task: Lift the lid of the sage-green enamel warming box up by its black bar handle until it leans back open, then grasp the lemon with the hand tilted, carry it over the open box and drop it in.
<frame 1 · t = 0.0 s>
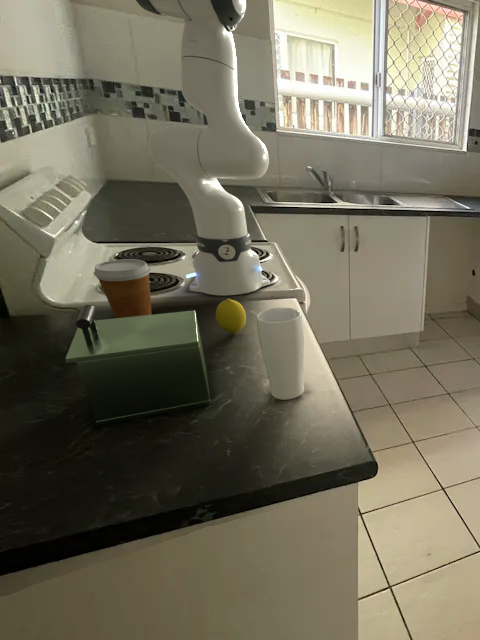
lid: (135, 321, 74), point 13 cm above the worktop, hinge at 0.0°
warmer: (157, 393, 80), on the worktop
lemon: (234, 334, 102), on the worktop
drinking glass: (288, 394, 83), on the worktop
disposable coffee cup: (134, 318, 105), on the worktop
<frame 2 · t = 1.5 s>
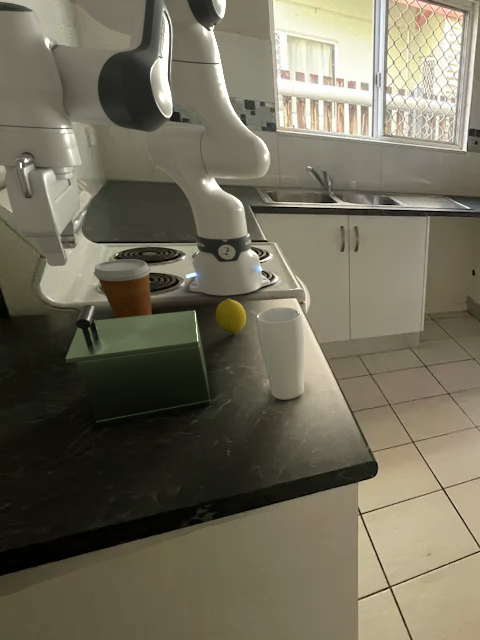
hand: (64, 255, 66), 24 cm above the worktop, tool pointing down, fingers open, 8 cm apart
nothing on the worktop moved.
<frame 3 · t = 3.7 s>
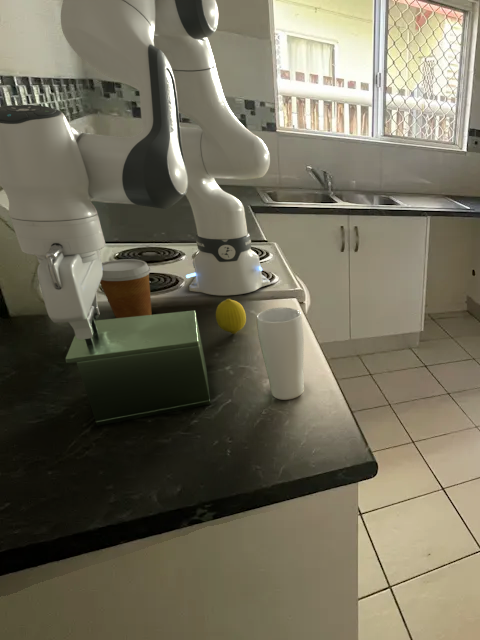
hand: (89, 327, 71), 13 cm above the worktop, tool pointing down, fingers closed on lid, 6 cm apart
lid: (135, 321, 74), point 13 cm above the worktop, hinge at -0.1°, touching gripper
everything else where it was.
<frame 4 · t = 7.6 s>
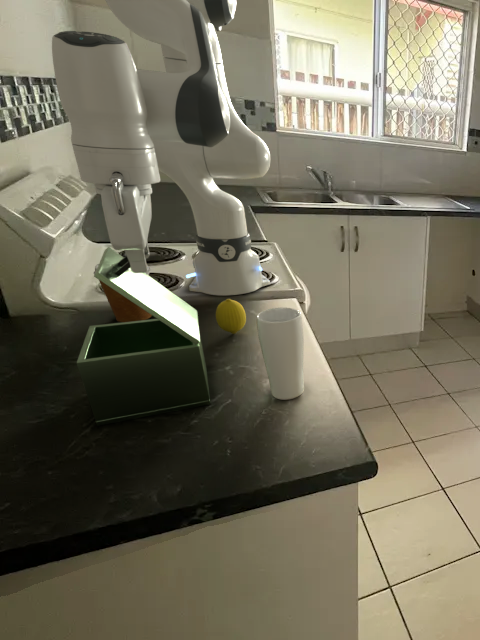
hand: (141, 264, 71), 22 cm above the worktop, tool pointing down, fingers closed on lid, 6 cm apart
lid: (163, 287, 74), point 19 cm above the worktop, hinge at 50.7°, touching gripper
everything else where it was.
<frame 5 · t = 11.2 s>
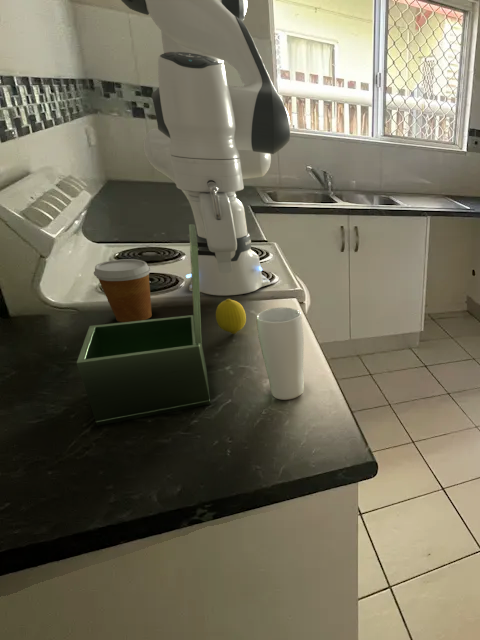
hand: (223, 265, 77), 22 cm above the worktop, tool pointing down, fingers open, 6 cm apart
lid: (210, 282, 77), point 19 cm above the worktop, hinge at 96.8°
everything else where it was.
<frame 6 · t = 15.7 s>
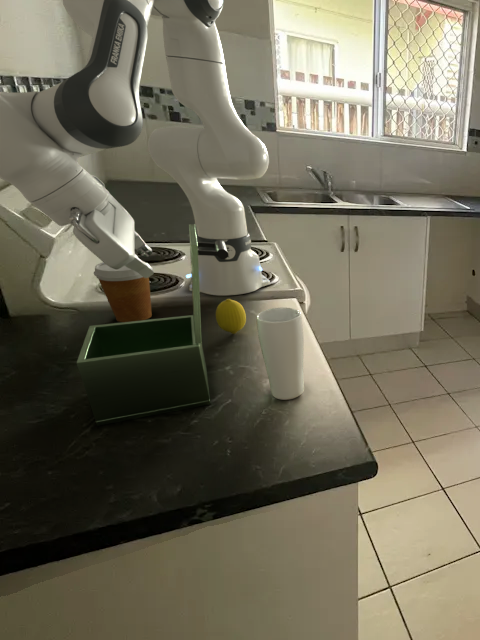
hand: (149, 264, 85), 18 cm above the worktop, tool tilted 35°, fingers open, 8 cm apart
nothing on the worktop moved.
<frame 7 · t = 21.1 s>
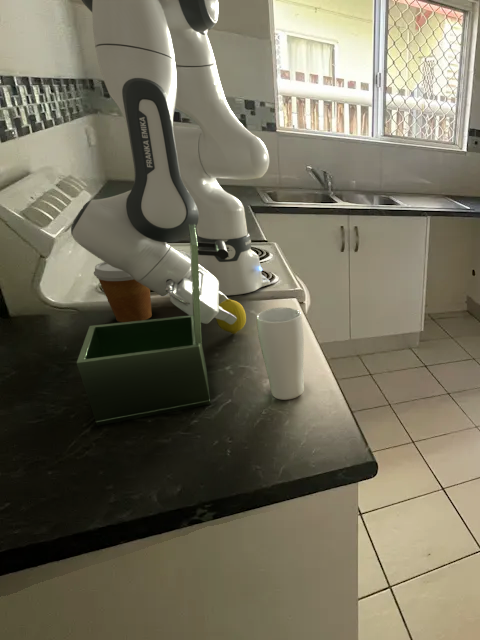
hand: (234, 314, 101), 4 cm above the worktop, tool tilted 45°, fingers closed on lemon, 5 cm apart
lemon: (234, 334, 102), on the worktop, touching gripper
everything else where it was.
when the fingers open (13 cm above the worktop, at t = 33.2 s): lemon drops 7 cm, resting on warmer.
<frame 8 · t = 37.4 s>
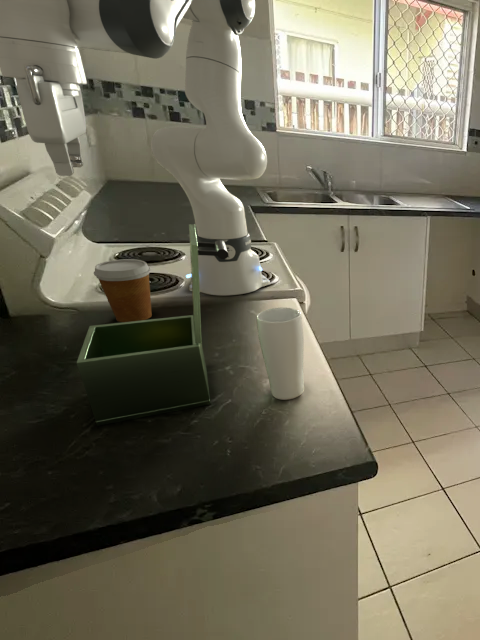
hand: (71, 170, 72), 34 cm above the worktop, tool pointing down, fingers open, 8 cm apart
lemon: (131, 391, 74), point 4 cm above the worktop, touching warmer
everything else where it was.
at the end: lid at +97° (first picture: +0°); lemon inside the target area in the warmer (5.0 cm from its centre), point 3.6 cm above the warmer's base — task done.
